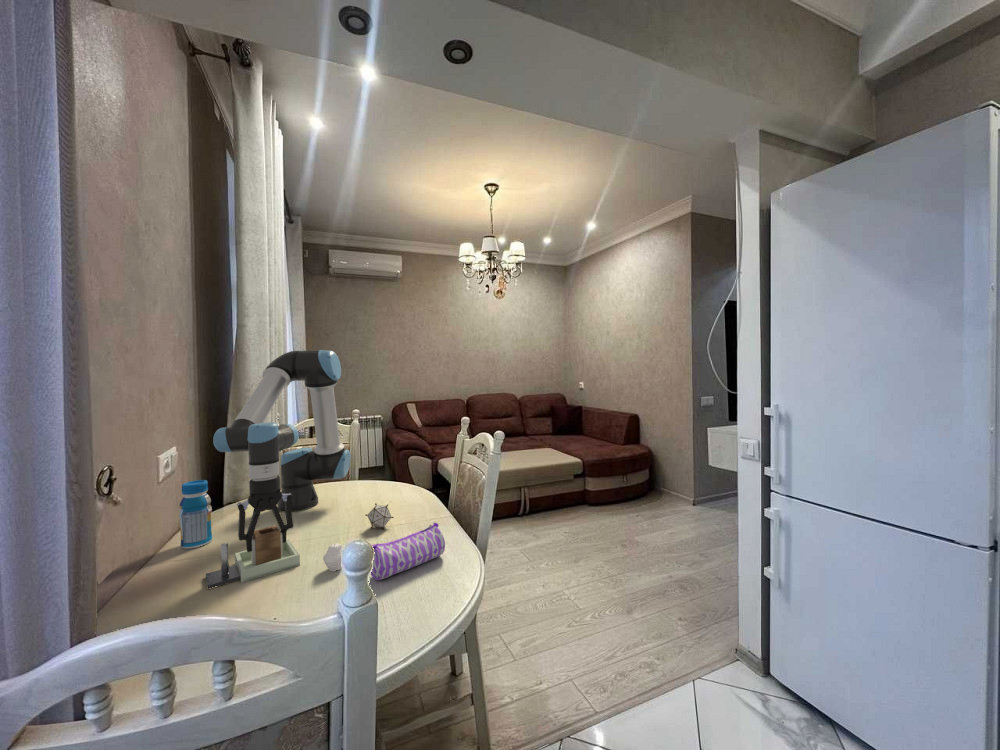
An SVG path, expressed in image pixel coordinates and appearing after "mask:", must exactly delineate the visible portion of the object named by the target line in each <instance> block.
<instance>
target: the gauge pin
mask: <svg viewBox="0 0 1000 750" xmlns="http://www.w3.org/2000/svg"><path fill="white" fill-rule="evenodd" d="M220 559H221V560H220V563H221V564H220V567H221V569H218V570H214V571H210V572H207V573H205V580H206V587H207V590H210V589H209V588H211V589H213V588H212V587H215V586H218V587H220V586H219V585H221V586H224V585H223V584H225V585H228V584H231V583H235V582H237V580H238V581H241V579H240V573H239V570H238V567H237V565H236V564H235V565H232V566H229V544H228V542H227V543H226V542H224V543H221V544H220ZM234 581H235V582H234ZM227 583H228V584H227ZM215 588H216V587H215Z"/></svg>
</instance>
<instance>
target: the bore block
mask: <svg viewBox="0 0 1000 750" xmlns="http://www.w3.org/2000/svg"><path fill="white" fill-rule="evenodd" d="M280 531H281V529H280V528H279V526H277V524H276V525H272V526H268V527H263V528H259V529H255V531H254V534H253V537H254V539H255V553H256V565H260V564H263V563H267V562H270V561H274V560H278V559H281V537H280Z"/></svg>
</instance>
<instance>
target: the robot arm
mask: <svg viewBox="0 0 1000 750" xmlns="http://www.w3.org/2000/svg"><path fill="white" fill-rule="evenodd" d="M261 375H262V376H261V377H262V379H261V380H260V381H259V383H258V384H257V387H256V388H255V390H253V392H252V394H251V395H250V396H249V398H248V400H247V402H245V404H244V406H243V407H242V409H241V410H240V411H239V413H238V414H237V416H236V418H235V419H234V420H233V422H232V423H231V425H230V426H225V427H220V428H218V429H217V430H216V431H215V433H214V435H213V438H212V439H213V446H214V447H215V450H217V451H218V452H220V453H239V452H248V478H249V482H248V485H249V486H248V487H249V496H248V498H247V500H245V501H243V502H238V503H237V504H236V506H237V509H238V512H239V513H238V527H237V528H238V530H237V533H238V534H237V537H238V540H239V541H245V543H246V544H245V545H246V546H245V547H246V549H245V550H247V551H248V552H251V561H252V563H253V564H254V563H256V553H255V539H254V537H253V534H254V531H255V530H256V527H257V524H258V520H259V517H260V515H261V514H262V513H263V512H265V511H271V510H272V513H273V516H274V517H275V520H276V523H277V525H278V528H279V530H280V537H281V556H283V543H285V542H286V540H287V531H288V530H290V529H293V527H294V520H293V513H292V512H299V511H304V510H307V509H312V508H314V507H315V506H317V505H318V504H319V496H318V493H317V492H316V489H315V486H314V481H319V480H321V481H323V480H338V479H339V480H340V479H344V478H345V477H346V476H347V474H348V472H349V469H350V466H351V458H352V457H351V451H350V450H349V449H345V444H344V443H342V442H341V440H340V432H339V422H338V414H337V413H338V412H337V407H336V406H337V405H336V398H335V396H336V395H335V386H336V385H337V384H338V380H339V379H341V377H342V367H341V361H340V359H339V356H338V355H337V354H336V352H335V351H333V350H328V349H327V350H325V349H324V350H323V349H315V350H314V349H313V350H312V349H311V350H293V351H292V350H290V351H287V352H285V353H283V354H280V355H279V356H277V357H276V358H275V359H274V360H272V361H271V362H270V363H268V365H267V366H266V367H265V369H264V371H263V372H262V374H261ZM296 381H298V382H299V381H304V386H305V388H307V389H308V390H309V393H310V400H311V408H312V416H313V423H314V430H315V437H316V446H315V448H314V449H313V448H312V447H303V448H296V449H293V450H289V451H286V452H284V453H282V454H281V457H280V452H281V451H284V450H287V449H289V448H291V447H292V446H293V445H295V444H296V443H297V442H298V439H299V435H300V434H299V431H298V429H297V428H296V426H294V425H292V424H289V423H286V424H284V423H282V424H277V422H265V420H266V419H267V417H268V416H269V414H270V412H271V410H272V409H273V407H274V405H275V404H276V402H277V400H278V398H279V396H280V395H281V394H282V392H283V390H284V389H285V388H287V387H289V386H290V384H291V383H293V382H296ZM279 475H280V476H279ZM248 506H251V507H252V508H253V511H252V515H251V519H250V521H249V525H248V527H247V528H248V529H247V530H246V510H248ZM280 512H285V519H286V520H285V521H286V524H285V522H284V520H283V517H282V515H281V513H280ZM245 531H247V532H246V533H245Z"/></svg>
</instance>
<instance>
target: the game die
mask: <svg viewBox="0 0 1000 750" xmlns="http://www.w3.org/2000/svg"><path fill="white" fill-rule="evenodd" d="M388 506H389V503H388V504H386V505H380V504H378V503H377V502H375V504H374V506H373V508H372V509H371V510H370V511H369V512H368V514H364V516H365V517H366V516H367V517H368V520H369V523H370V525H371V526H370V529H373V528H374V527H375V528H381V529H382V530H383V531H384V529H385V526H386V525H387V524H388V523H389V522H390V520H391V519H394V518H395V517H394V516H392V514H391V513H390V510H389V508H388Z"/></svg>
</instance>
